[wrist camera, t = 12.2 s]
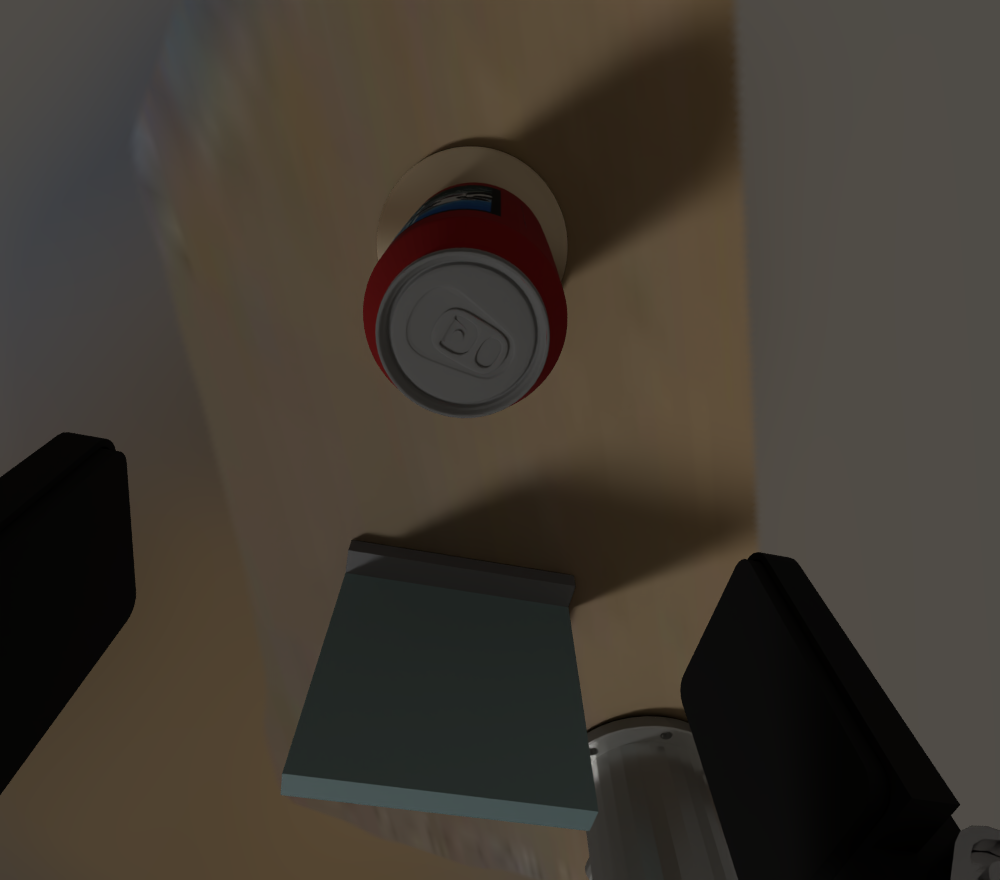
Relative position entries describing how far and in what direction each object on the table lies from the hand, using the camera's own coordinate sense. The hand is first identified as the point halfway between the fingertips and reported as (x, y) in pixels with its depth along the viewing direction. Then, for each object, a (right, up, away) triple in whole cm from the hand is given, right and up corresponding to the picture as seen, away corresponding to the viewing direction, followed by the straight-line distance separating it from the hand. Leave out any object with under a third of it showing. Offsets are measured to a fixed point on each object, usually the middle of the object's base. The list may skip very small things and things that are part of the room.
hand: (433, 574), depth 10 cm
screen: (-2, -7, +30) cm, 31 cm away
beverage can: (0, +11, +20) cm, 23 cm away
